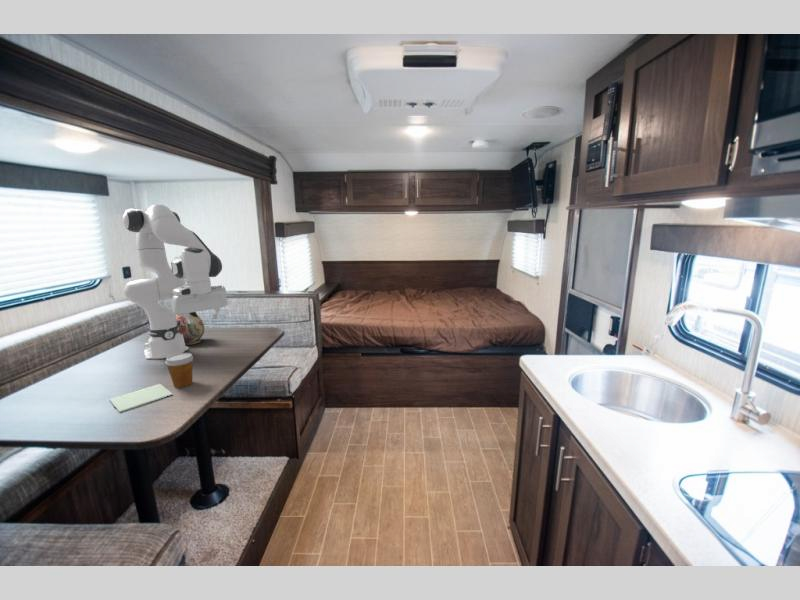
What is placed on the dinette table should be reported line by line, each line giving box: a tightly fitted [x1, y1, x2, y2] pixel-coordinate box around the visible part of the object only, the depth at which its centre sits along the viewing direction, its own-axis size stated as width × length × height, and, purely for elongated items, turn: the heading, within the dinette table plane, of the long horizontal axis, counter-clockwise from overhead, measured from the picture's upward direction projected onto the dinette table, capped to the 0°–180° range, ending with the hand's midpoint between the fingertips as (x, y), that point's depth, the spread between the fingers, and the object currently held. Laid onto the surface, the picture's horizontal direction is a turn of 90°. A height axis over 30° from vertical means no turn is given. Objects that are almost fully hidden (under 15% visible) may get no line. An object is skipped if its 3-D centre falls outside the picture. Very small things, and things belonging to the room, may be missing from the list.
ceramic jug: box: [175, 312, 205, 346], centre depth 184 cm, size 17×15×30 cm
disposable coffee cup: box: [164, 352, 194, 389], centre depth 135 cm, size 10×10×12 cm
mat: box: [108, 383, 174, 414], centre depth 125 cm, size 14×16×1 cm
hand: (203, 320), depth 139 cm, fingers open, 8 cm apart
